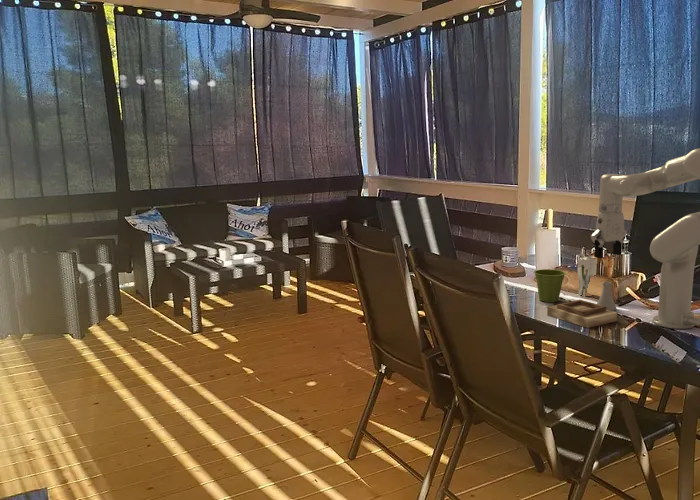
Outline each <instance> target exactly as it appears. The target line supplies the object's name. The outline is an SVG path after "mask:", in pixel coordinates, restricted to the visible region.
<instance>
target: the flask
mask: <svg viewBox="0 0 700 500" xmlns="http://www.w3.org/2000/svg"><path fill="white" fill-rule="evenodd" d="M612 284H613V283H612V282H611V281H602V290H601V294H600V296H599V298H598V301H597V303H596V304H598V305H602V306H605V307H607V308H606V310H609V311H613V312H616V310H617V306H616V303H615V301H614V297H613V294H612V293H613V292H612V288H611V287H612Z"/></svg>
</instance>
